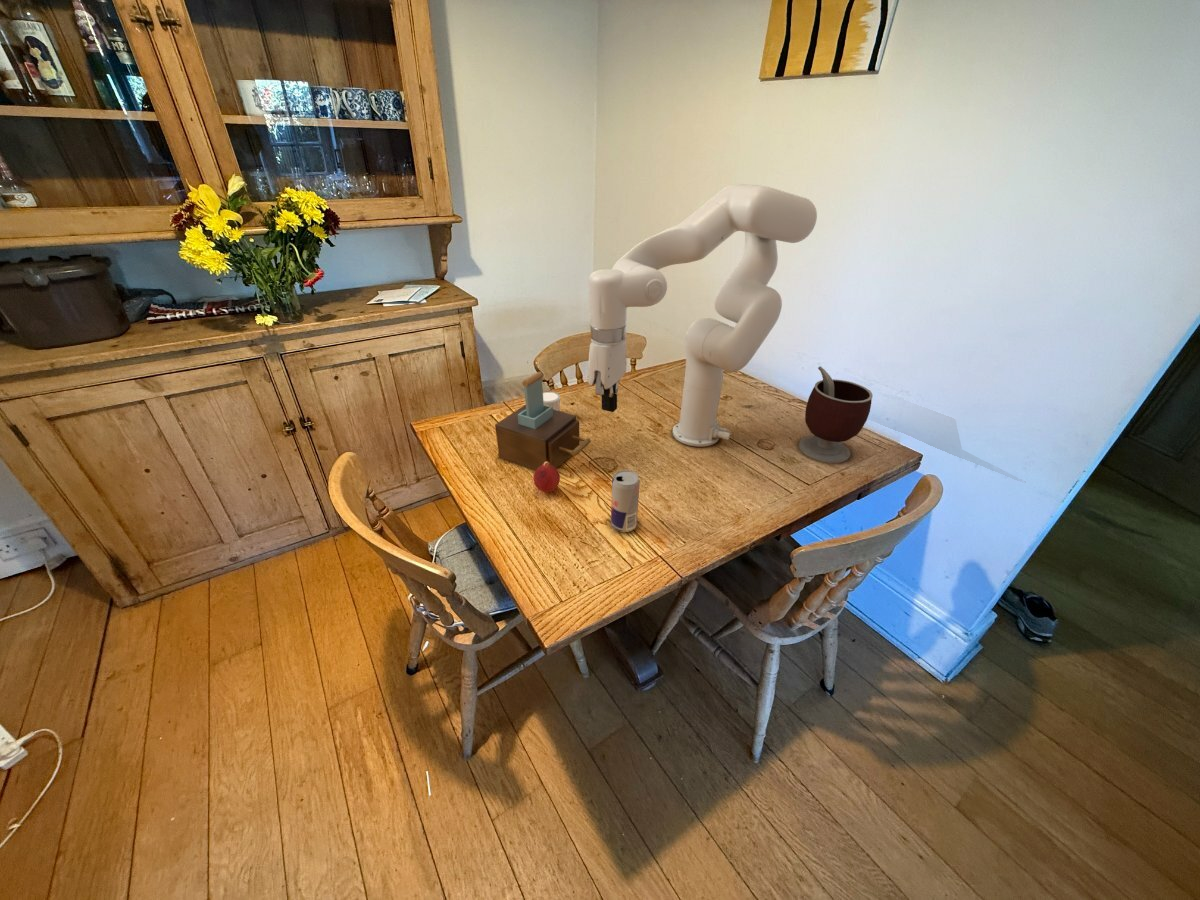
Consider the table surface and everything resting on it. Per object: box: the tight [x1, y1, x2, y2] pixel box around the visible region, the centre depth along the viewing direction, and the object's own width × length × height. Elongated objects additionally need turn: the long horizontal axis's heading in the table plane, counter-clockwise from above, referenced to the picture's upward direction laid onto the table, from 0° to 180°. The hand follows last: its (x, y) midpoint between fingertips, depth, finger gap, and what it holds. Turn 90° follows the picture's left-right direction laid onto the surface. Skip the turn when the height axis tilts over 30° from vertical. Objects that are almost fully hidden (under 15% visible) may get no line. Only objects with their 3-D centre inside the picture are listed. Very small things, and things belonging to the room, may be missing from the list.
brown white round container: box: [543, 391, 561, 411], centre depth 131 cm, size 7×7×7 cm
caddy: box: [518, 371, 553, 429], centre depth 109 cm, size 5×8×12 cm, turn 151°
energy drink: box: [610, 469, 641, 533], centre depth 92 cm, size 5×5×12 cm
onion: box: [533, 461, 561, 493], centre depth 102 cm, size 6×6×8 cm
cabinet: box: [494, 404, 577, 471], centre depth 115 cm, size 15×14×10 cm
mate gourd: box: [798, 365, 873, 464], centre depth 115 cm, size 16×14×20 cm
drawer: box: [547, 419, 592, 469], centre depth 113 cm, size 18×12×8 cm
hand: (609, 409), depth 107 cm, fingers closed
